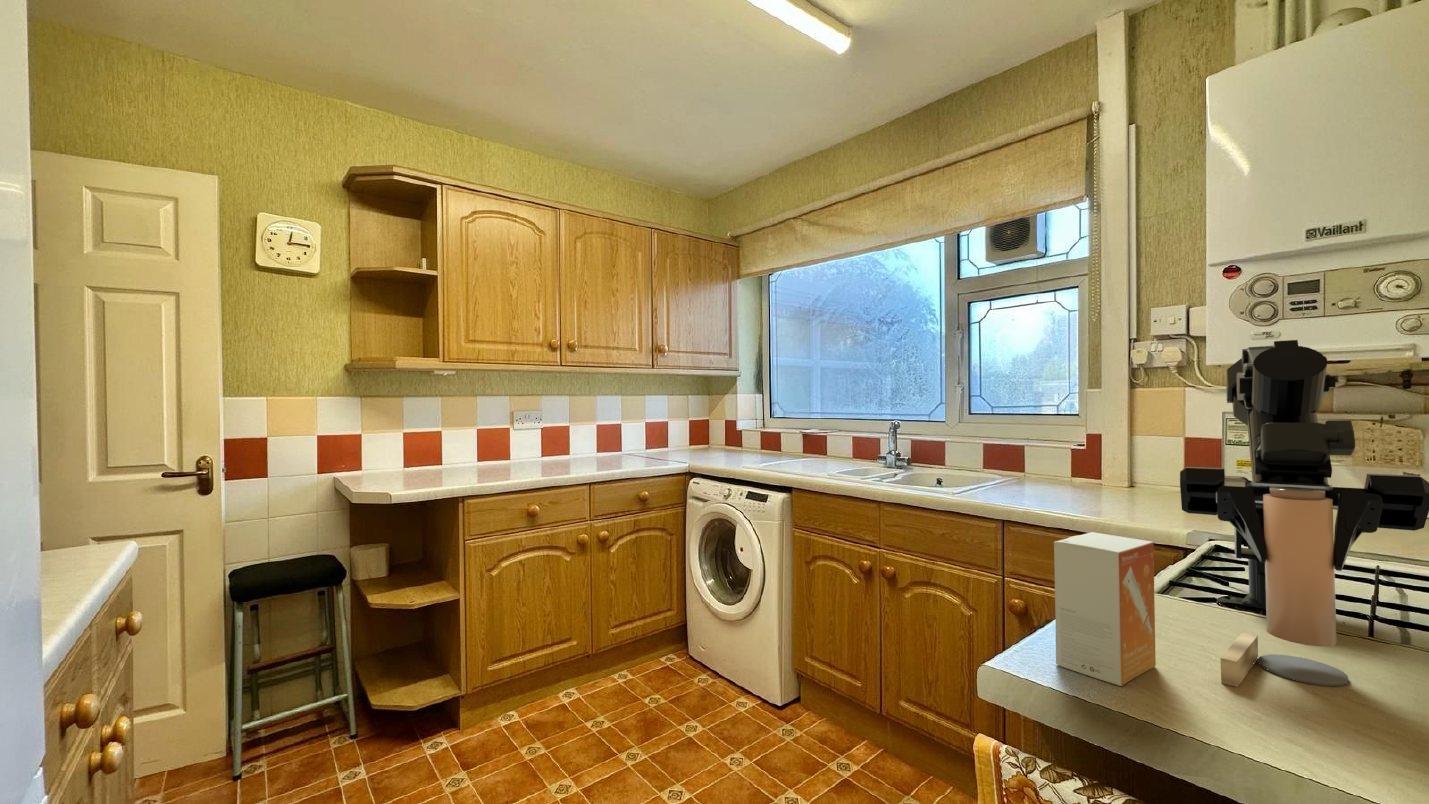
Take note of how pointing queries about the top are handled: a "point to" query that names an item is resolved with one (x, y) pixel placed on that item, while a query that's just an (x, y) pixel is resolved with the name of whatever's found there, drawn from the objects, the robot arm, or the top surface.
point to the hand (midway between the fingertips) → (1300, 563)
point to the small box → (1105, 606)
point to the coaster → (1303, 670)
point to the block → (1239, 659)
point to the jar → (1300, 565)
